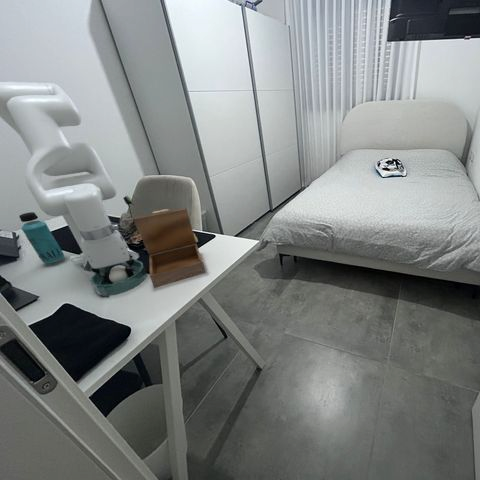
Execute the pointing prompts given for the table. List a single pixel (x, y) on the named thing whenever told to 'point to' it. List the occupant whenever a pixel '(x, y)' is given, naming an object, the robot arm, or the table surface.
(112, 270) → the egg
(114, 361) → the table surface
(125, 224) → the plant with pod
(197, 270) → the brown wooden box base
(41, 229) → the beverage bottle
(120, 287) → the bowl
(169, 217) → the egg box lid
